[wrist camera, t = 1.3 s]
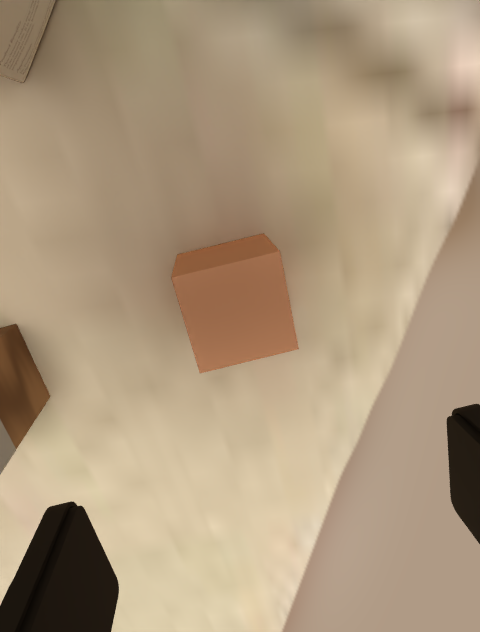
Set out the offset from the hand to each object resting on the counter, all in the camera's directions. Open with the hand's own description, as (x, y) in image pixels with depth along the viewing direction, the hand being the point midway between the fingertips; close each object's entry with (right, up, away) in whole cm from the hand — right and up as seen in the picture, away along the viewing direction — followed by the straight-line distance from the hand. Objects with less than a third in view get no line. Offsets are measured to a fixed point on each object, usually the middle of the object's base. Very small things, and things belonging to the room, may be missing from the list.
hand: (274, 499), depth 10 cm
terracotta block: (-2, +7, +18) cm, 20 cm away
